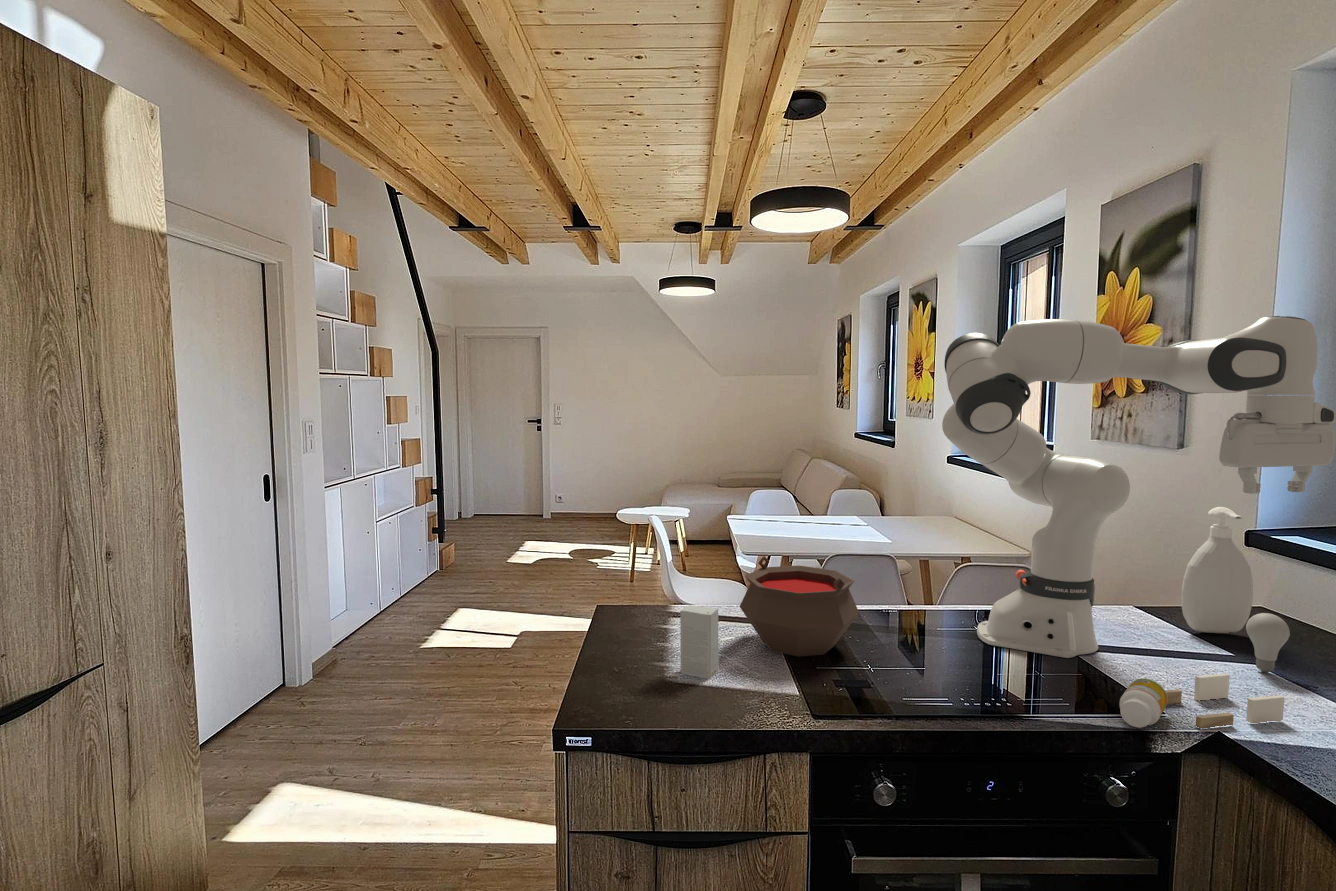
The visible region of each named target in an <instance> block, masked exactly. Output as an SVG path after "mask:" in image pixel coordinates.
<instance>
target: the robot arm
mask: <svg viewBox="0 0 1336 891" xmlns="http://www.w3.org/2000/svg"><path fill="white" fill-rule="evenodd" d="M1318 351H1319V350H1318V335H1317V333H1316V328H1315V326H1314V325H1313V323H1312V322H1311V321H1309V320H1307V319H1304V318H1301V317H1298V316H1297V317H1296V316H1289V315H1285V316H1281V315H1272V316H1271V315H1270V316H1263V317H1261V318H1258V319H1257V320H1256V321H1255V322H1254V323H1252V324H1250V325H1249V326H1247V327H1245V328H1243V329H1241V330H1239V331H1236V332H1234V333H1233V332H1232V333H1231V334H1227V335H1226V336H1224V337H1223V336H1222V337H1216V338H1205V339H1191V340H1190V339H1188V340H1183V341H1178V342H1175V343H1172V344H1170V345H1167V346H1156V345H1155V346H1152V345H1147V344H1146V345H1145V344H1134V343H1127V342H1126V343H1125V341H1124V338H1123V336H1122V335H1121V333H1120V332H1119V331H1118V329H1116V328H1115V327H1114V326H1110V325H1107V324H1104V323H1103V324H1102V323H1099V322H1094V321H1089V320H1088V321H1087V320H1079V319H1066V318H1065V319H1064V318H1062V319H1061V318H1060V319H1059V318H1058V319H1057V318H1055V319H1054V318H1049V319H1048V318H1045V319H1033V320H1032V319H1030V320H1024V321H1019V322H1016V323H1014V324H1013V325H1011V326H1009V328H1008V329H1007V330H1006V331H1005V333H1004V335H1003V337H1002V340H1001V342H1000V344H999V343H998V342H997V341H996V340H995V339H994V338H993V337H991V336H990V335H988V334H985V333H982V332H969V333H965V334H963V335H960V336H959V337H957V338H956V339H954V340H953V341H952V342H951V343H950V344H949V346H948V347H947V350H946V352H945V355H944V372H945V374H946V381H947V382H946V383H947V387H948V388H947V389H948V391H949V394H950V397H951V400H952V404H951V406H949V407H948V409H947V410H946V411H945V414H944V415H943V418H942V423H941V426H942V432H943V434H944V436H945V437H946V438H947V439H948V440H949V441H950V443H951V444H953V445H954V446H955V447H956V448H957V449H958V450H960V451H961V452H962V453H963V454H965V455H967V456H968V457H969V458H970V459H972V460H974V461H976V462H977V463H979V465H982V466H984V467H985V468H986V469H988V470H990V471H992V472H993V473H995V474H997V475H998V476H999V477H1002V478H1004V479H1005V480H1006V481H1007V482H1008V485H1009V488H1010V489H1011V491H1012V492H1013V493H1014V494H1015V495H1017V496H1018V497H1020V498H1022V499H1024V500H1026V501H1029V502H1031V503H1033V504H1037V505H1042V506H1045V507H1050V508H1051V507H1052V511H1051V512H1052V513H1051V515H1050V516H1051V517H1050V519H1049V521H1048V523H1047V524H1046V526H1044V527H1042V528H1040V529H1038V530H1036V532H1035V533H1034V534H1033V537H1032V540H1031V542H1032V543H1031V544H1032V545H1031V559H1030V560H1031V564H1030V570H1029V571H1027V572H1025V570H1024V569H1018V570H1017V571H1015V576H1016V579H1017V580H1019V588H1018V589H1016V590H1014V591H1013V592H1011V593H1009V594H1007V595H1006V596H1003V597H1002V598H999V599H998V600H997V601H995V602H994V604H992V606H991V608H990V611H989V612H990V613H989V615H988V620H983V621H981V622H979V623H978V625H977V628H976V634H977V637H978V638H979V639H980V640H981V641H982V642H983V643H985V644H987V645H989V646H990V645H991V646H995V647H1001V648H1006V649H1007V648H1008V649H1014V650H1019V651H1024V652H1029V653H1030V652H1031V653H1036V654H1040V655H1041V654H1042V655H1048V656H1053V657H1060V658H1066V659H1070V658H1074V657H1076V656H1078V655H1079V656H1080V655H1086V654H1087V655H1088V654H1093V653H1095V652H1097V651H1098V650H1099V644H1098V641H1097V638H1096V634H1095V627H1094V620H1093V618H1094V616H1093V606H1094V602H1095V596H1096V595H1095V593H1096V592H1095V591H1096V584H1095V579H1094V578H1093V570H1094V569H1093V566H1094V555H1095V545H1096V541H1097V538H1098V535H1099V532H1100V530H1101V528H1102V527H1103V524H1104V523H1105V521H1106V520H1107V519H1108V518H1109V517H1110V516H1111V515H1113V514H1114V513H1115V512H1117V511H1119V510H1120V509H1122V508H1123V506H1124V505H1125V503H1126V502H1127V500H1128V498H1129V496H1130V491H1131V483H1130V480H1129V477H1128V475H1127V473H1126V471H1125V470H1124V469H1123V468H1122V467H1120V466H1119V465H1116V464H1114V463H1111V462H1109V461H1105V460H1103V459H1101V458H1097V457H1086V456H1078V455H1070V454H1065V453H1061V452H1057V451H1055V450H1051V449H1050V448H1048V447H1047V442H1046V439H1045V437H1044V436H1043V434H1042V433H1040V432H1039V431H1038V430H1036V429H1034V428H1033V427H1031V426H1030V425H1028V424H1026V423H1025V422H1023V421H1022V420H1020V419H1018V418H1019V415H1020V413H1021V411H1022V409H1023V405H1024V404H1025V405H1026V403H1027V401H1029V399H1030V397H1031V393H1032V392H1031V389H1030V386H1029V385H1030V384H1032V383H1035V382H1053V383H1060V384H1061V383H1062V384H1073V385H1077V384H1078V385H1088V384H1100V383H1107V382H1109V381H1110V380H1111V379H1113V378H1123V379H1124V378H1125V379H1132V380H1142V381H1151V382H1156V383H1158V384H1160V385H1162V386H1164V387H1166V388H1168V389H1169V390H1171V391H1173V392H1175V393H1179V394H1181V395H1198V394H1235V393H1241V392H1242V393H1243V392H1246V405H1245V406H1246V407H1245V413H1244V412H1236V413H1234V414H1233V416H1231V417H1230V418H1229V419H1228V420H1227V421H1226V427H1225V428H1224V431H1223V434H1222V438H1221V443H1220V448H1219V456H1218V457H1219V458H1218V459H1219V461H1220V464H1221V465H1222V466H1224V467H1230V468H1238V469H1237V473H1238V476H1239V478H1240V479H1241V481H1242V483H1243V485H1242V486H1243V488H1242V492H1243V493H1244V494H1249V495H1254V494H1256V495H1257V494H1260V493H1261V485H1262V484H1261V483H1259V482H1257V480H1256V476H1255V474H1257V473H1258V468H1274V467H1275V468H1277V467H1281V468H1282V467H1283V468H1285V467H1292V471H1293V472H1294V474H1293V476H1292V479H1291V480H1289V481H1287V487H1286V488H1287V491H1288V492H1293V493H1303V492H1305V490H1306V482H1307V481H1308V480H1309V478H1310V476H1311V475H1312V473H1313V467H1315V466H1317V467H1319V466H1321V467H1322V466H1323V467H1324V466H1325V467H1326V466H1329V465H1330V464H1331V463H1332V460H1334V457H1335V452H1336V450H1335V449H1336V429H1335V426H1334V425H1333V424H1335V423H1336V409H1333V408H1330V407H1327V406H1325V405H1323V404H1322V403H1319V402H1318V401H1315V400H1316V392H1315V388H1314V386H1313V383H1314V382H1313V380H1314V376H1315V374H1316V372H1317V369H1318V368H1317V367H1318Z"/></svg>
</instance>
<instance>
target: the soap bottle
mask: <svg viewBox="0 0 1336 891" xmlns="http://www.w3.org/2000/svg"><path fill="white" fill-rule="evenodd" d="M1207 516H1210V517H1218V518H1217V519H1218V520H1217V523H1214V524H1212V525H1211V526H1209V527H1210V528H1209V536H1208V538H1207V540H1206V541H1205V542H1204V543H1203V544H1202V545H1201V546H1200V547H1199V548H1197V550H1196V551H1195V553H1194V554H1193V556H1192V557H1191V559H1190V560H1189V562H1188V563H1187V566H1186V568H1185V569H1186V570H1185V572H1184V576H1183V581H1182V585H1181V586H1182V587H1181V599H1180V600H1181V602H1180V604H1181V610H1182V615H1183V617H1184V619H1185V621H1186V624H1187V625H1188V626H1189V628H1191V629H1192V630H1194V631H1197V632H1200V633H1209V634H1211V633H1212V634H1230V633H1229V632H1233V633H1237V632H1239V631H1241V630H1243V628H1244V627H1245V626H1246V624H1247V622H1248V620H1249V619H1250V616H1251V615H1250V614H1251V610H1252V606H1253V596H1254V587H1253V582H1254V581H1253V576H1252V571H1251V566H1250V565H1249V563H1248V561H1247V559H1246V557H1245V555H1244V553H1243V552H1242V551H1241V550H1240V549H1239V548H1238V547H1237V545H1236V544H1235V543H1234V541H1233V540H1232V534H1233V533H1232V531H1233V528H1231V526H1230V525H1227V524H1225V523H1226V519H1232V520H1242V519H1243V518H1244V517H1243V516H1242V515H1239V514H1236V512H1234V511H1233V510H1232V509H1230V508H1228V507H1225V506H1217V507H1213V508H1212V509H1210V510H1208V512H1207Z"/></svg>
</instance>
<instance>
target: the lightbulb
mask: <svg viewBox="0 0 1336 891" xmlns="http://www.w3.org/2000/svg"><path fill="white" fill-rule="evenodd" d="M1245 630H1246V633H1247V635H1248V637H1249V640H1250V641H1251V643H1252V645H1253V648H1254V656H1255V667H1256V668H1257V669H1258V670H1260V671H1261V672H1262V673H1266V674H1268V673H1270V672H1273V671H1274V670H1275V665H1276V661H1277V660H1278V655H1279V652H1280V651H1281V649H1282V647H1283V646H1284V645H1285V644H1286V643H1287V641H1288V640H1289V638H1290V633H1291V632H1290V628H1289V625H1288V623H1287V622H1285V620H1284V619H1282V618H1281V617H1280V616H1277V615H1275V614H1273V613H1268V612H1261V613H1256V614H1254V615H1252V616H1251V617H1249V618H1248V620H1247V622H1246V623H1245Z"/></svg>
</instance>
